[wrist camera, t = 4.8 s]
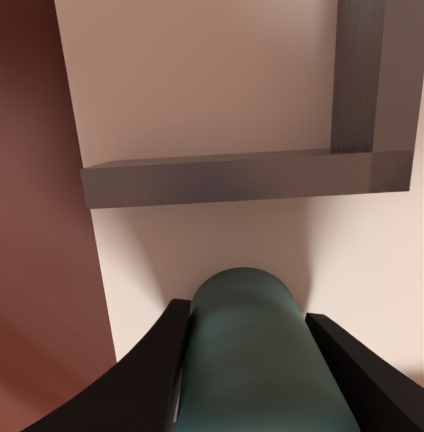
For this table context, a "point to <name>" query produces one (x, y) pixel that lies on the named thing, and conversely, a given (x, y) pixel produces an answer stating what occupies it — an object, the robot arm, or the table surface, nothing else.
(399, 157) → the guide walls
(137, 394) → the robot arm
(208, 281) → the peg
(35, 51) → the table surface
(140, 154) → the maze board
